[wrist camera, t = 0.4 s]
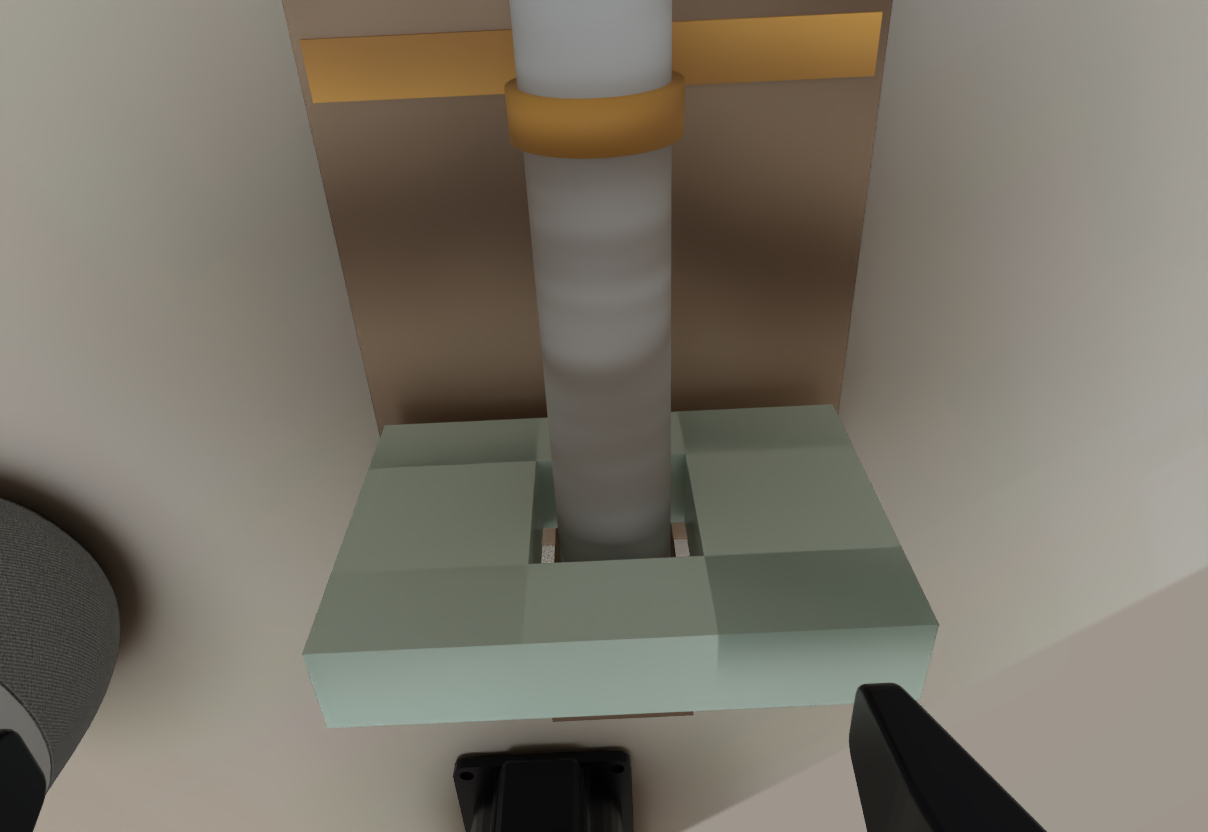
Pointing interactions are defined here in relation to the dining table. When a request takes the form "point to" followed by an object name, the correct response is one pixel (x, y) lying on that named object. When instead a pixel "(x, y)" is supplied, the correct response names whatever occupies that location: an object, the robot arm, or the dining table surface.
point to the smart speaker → (52, 636)
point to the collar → (615, 582)
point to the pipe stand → (596, 220)
